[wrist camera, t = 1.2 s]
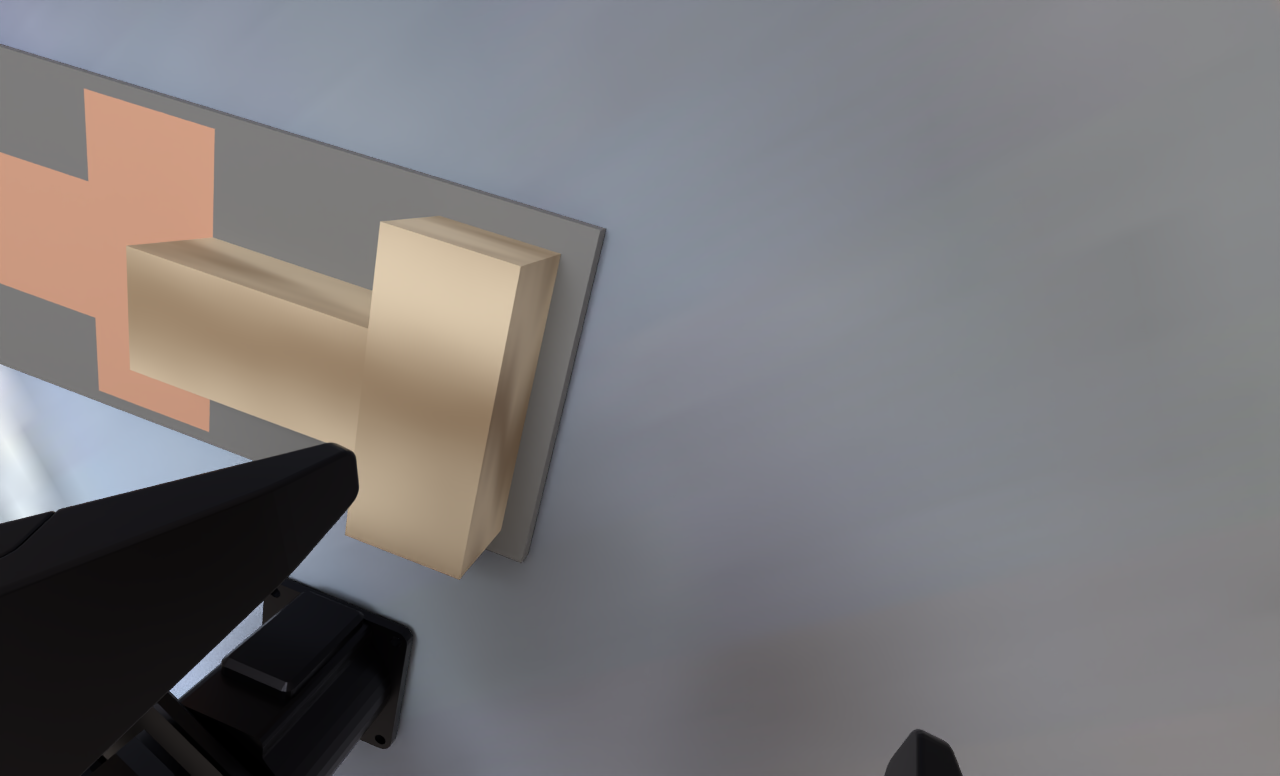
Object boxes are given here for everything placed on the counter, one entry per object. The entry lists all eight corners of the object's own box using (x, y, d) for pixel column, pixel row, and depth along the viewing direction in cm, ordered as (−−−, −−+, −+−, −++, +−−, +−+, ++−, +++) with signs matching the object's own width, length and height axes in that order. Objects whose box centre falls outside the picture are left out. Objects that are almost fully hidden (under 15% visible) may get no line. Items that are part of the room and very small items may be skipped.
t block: (500, 530, 22) (459, 579, 20) (209, 420, 24) (132, 452, 21) (560, 253, 19) (521, 266, 16) (214, 145, 20) (122, 139, 18)
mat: (528, 553, 23) (521, 562, 23) (-57, 332, 26) (-75, 335, 26) (606, 228, 19) (600, 229, 18) (-102, 13, 22) (-125, 8, 22)
